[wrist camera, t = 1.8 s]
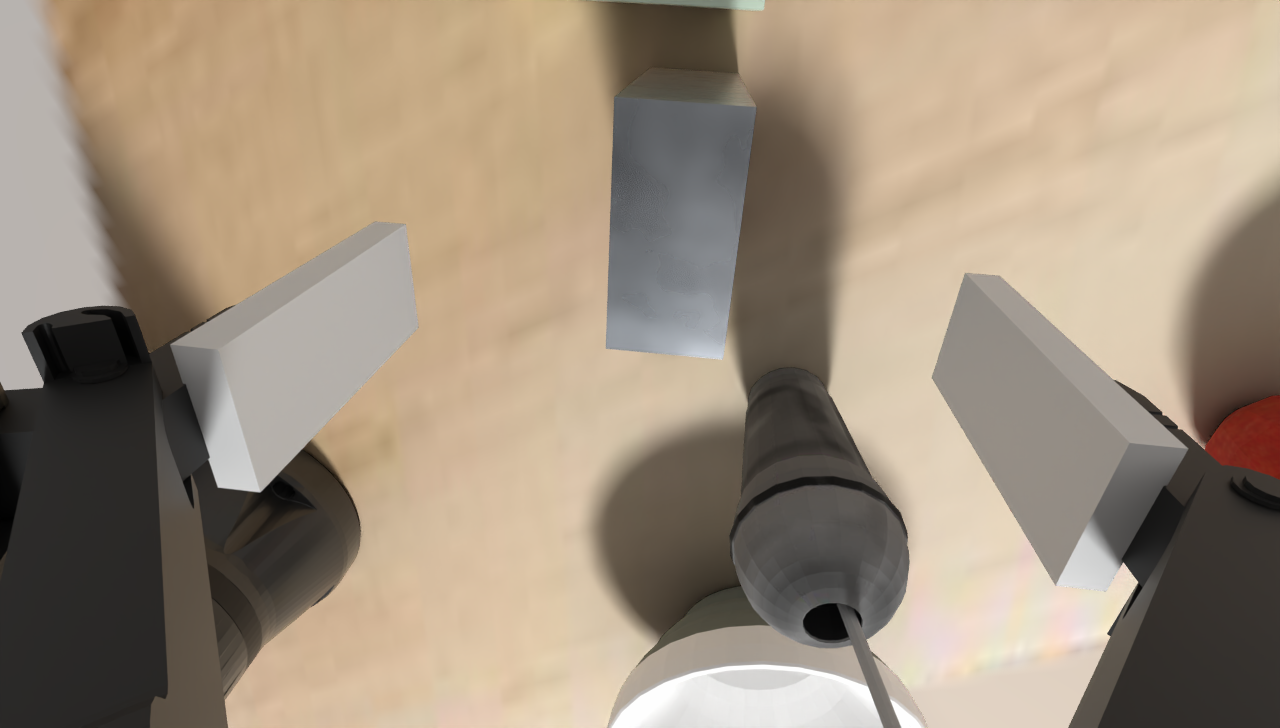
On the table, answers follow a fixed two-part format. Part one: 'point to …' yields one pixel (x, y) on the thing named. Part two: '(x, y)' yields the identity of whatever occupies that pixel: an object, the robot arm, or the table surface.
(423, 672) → the table surface
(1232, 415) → the apple
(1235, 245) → the table surface
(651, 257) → the brushed steel block
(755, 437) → the beverage cup
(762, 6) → the frame
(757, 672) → the bowl
